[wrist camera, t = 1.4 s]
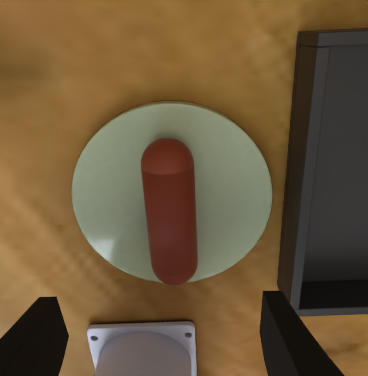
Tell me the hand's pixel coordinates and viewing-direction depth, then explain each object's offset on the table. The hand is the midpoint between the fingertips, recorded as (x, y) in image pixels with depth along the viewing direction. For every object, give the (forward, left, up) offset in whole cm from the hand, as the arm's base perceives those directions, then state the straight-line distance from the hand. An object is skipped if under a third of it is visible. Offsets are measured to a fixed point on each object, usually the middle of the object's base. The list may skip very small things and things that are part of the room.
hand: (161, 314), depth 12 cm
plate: (0, 0, -10) cm, 10 cm away
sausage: (0, 0, -9) cm, 9 cm away
